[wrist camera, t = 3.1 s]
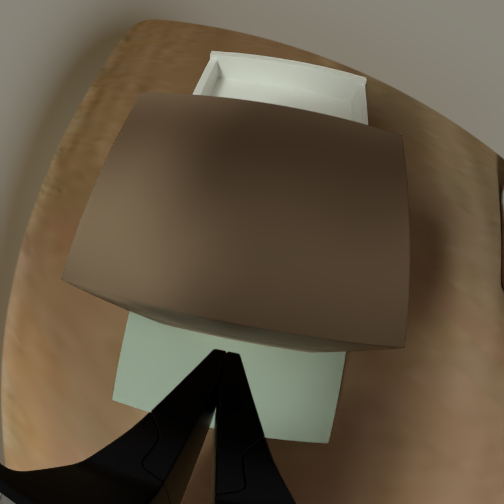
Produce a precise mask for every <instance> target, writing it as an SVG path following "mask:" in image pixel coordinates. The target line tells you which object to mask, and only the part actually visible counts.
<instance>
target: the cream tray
mask: <svg viewBox="0 0 504 504" xmlns="http://www.w3.org/2000/svg"><path fill="white" fill-rule="evenodd" d="M365 84H366V78H365V77H362V76H358V75H355V74H351V73H347V72H343V71H339V70H335V69H331V68H327V67H323V66H318V65H313V64H308V63H303V62H298V61H292V60H287V59H280V58H274V57H267V56H260V55H251V54H242V53H231V52H218V51H212V52H211V54H210V61H209V62H208V64H207V66H206V68H205V70H204V72H203V74H202V76H201V78H200V80H199V82H198V84H197V86H196V88H195V90H194V93H193V95H205V96H216V97H226V98H234V99H242V100H250V101H257V102H264V103H270V104H276V105H282V106H287V107H293V108H298V109H303V110H308V111H313V112H317V113H322V114H326V115H331V116H335V117H339V118H343V119H347V120H351V121H355V122H359V123H362V124H366V125H368V115H367V103H366V92H365Z"/></svg>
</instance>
